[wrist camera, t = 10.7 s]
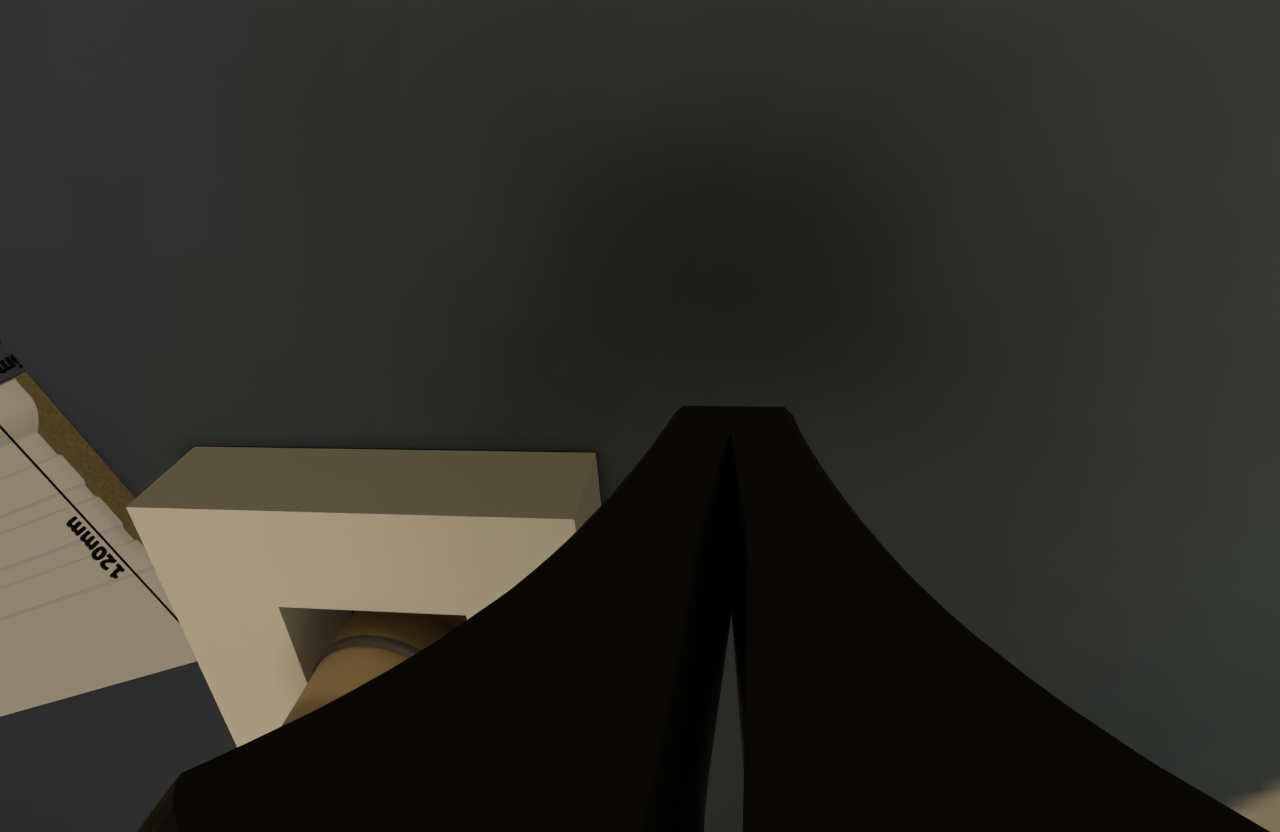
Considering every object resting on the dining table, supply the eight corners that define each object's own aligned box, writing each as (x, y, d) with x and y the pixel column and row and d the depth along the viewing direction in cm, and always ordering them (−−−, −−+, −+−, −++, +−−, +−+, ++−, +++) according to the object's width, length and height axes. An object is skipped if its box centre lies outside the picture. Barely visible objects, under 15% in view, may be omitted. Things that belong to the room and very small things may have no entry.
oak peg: (503, 655, 26) (398, 947, 19) (383, 652, 27) (234, 932, 19) (479, 555, 24) (350, 837, 17) (350, 554, 25) (168, 824, 17)
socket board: (626, 744, 28) (613, 825, 25) (303, 723, 30) (260, 797, 27) (595, 452, 22) (574, 519, 19) (194, 446, 24) (125, 507, 21)
